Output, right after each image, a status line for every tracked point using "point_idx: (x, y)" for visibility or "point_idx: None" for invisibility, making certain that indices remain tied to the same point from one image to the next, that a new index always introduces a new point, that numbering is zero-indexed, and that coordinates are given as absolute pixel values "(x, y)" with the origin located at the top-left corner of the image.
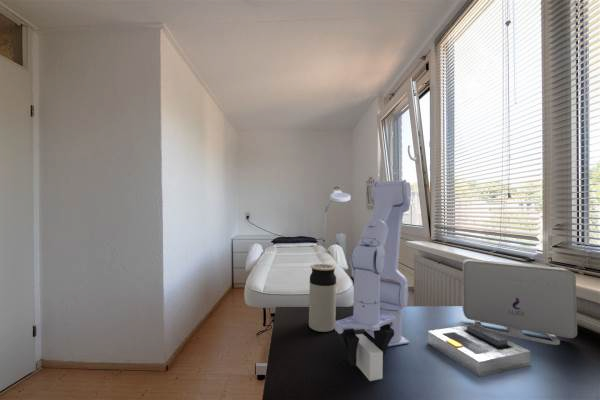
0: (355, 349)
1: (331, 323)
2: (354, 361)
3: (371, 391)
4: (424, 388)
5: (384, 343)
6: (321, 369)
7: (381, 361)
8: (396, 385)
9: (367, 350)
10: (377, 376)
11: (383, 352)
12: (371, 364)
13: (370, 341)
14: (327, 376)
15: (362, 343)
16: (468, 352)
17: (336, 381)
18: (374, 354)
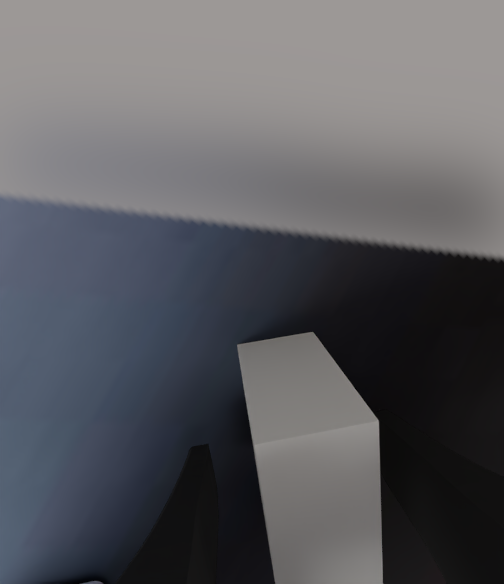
0: (460, 478)
1: None
2: (402, 424)
3: (343, 259)
4: (26, 248)
5: (184, 549)
6: (497, 422)
7: (255, 396)
8: (186, 288)
9: (372, 466)
10: (270, 346)
11: (190, 486)
12: (333, 377)
13: (279, 577)
14: (494, 376)
15: (358, 551)
16: None
17: (472, 341)
18: (333, 423)
